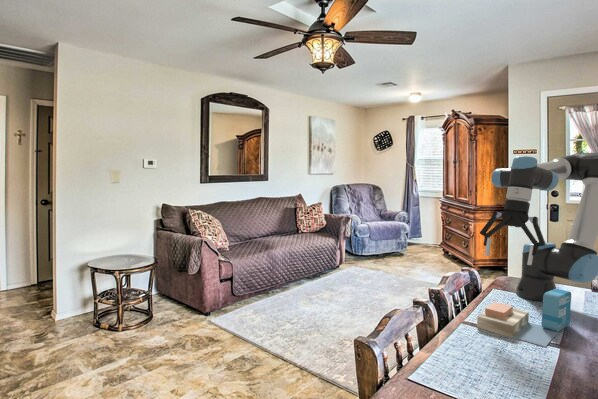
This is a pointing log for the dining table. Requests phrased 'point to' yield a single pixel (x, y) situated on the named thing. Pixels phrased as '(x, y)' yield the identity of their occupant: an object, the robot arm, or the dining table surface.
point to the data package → (556, 309)
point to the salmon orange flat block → (499, 310)
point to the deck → (504, 322)
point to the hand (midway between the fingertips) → (507, 260)
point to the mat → (535, 334)
